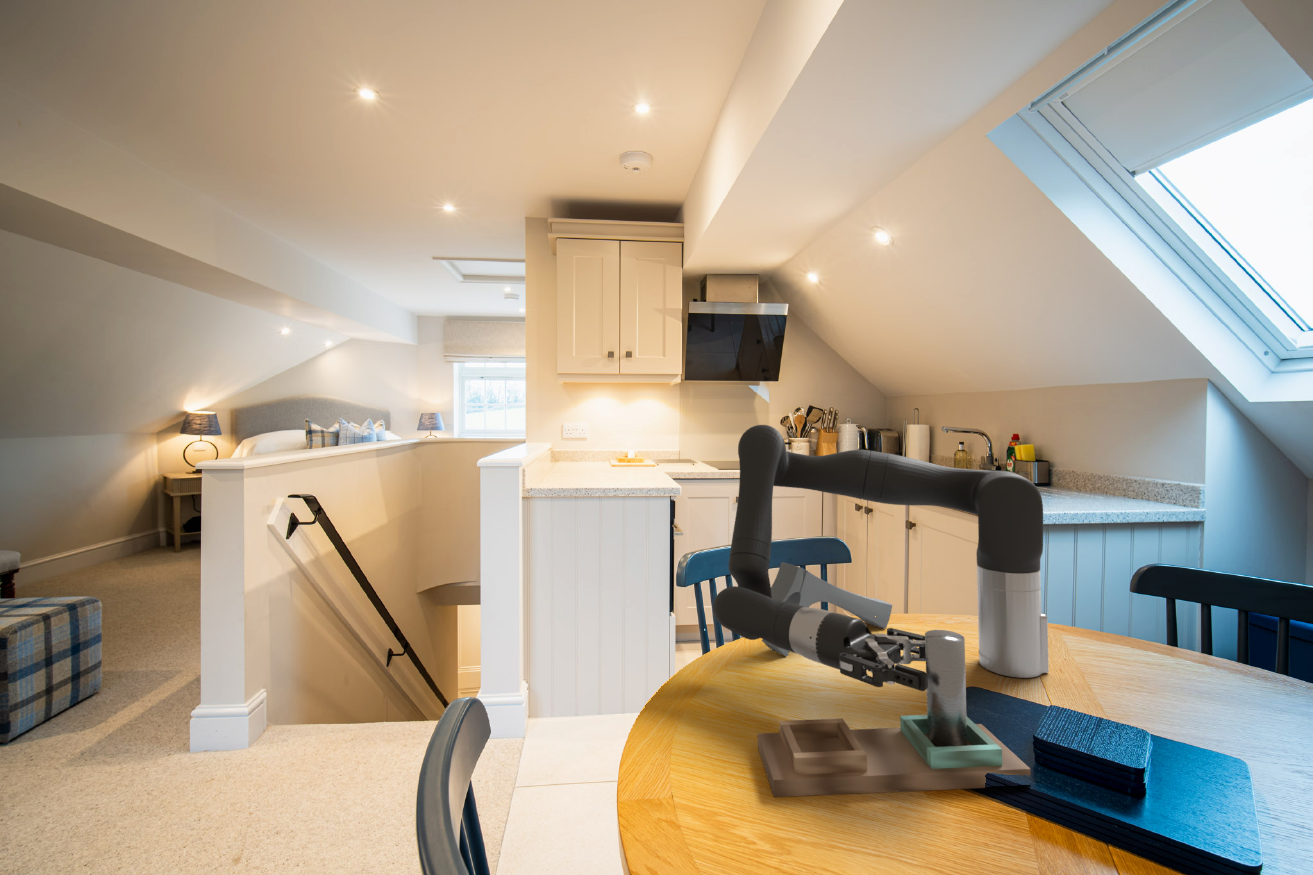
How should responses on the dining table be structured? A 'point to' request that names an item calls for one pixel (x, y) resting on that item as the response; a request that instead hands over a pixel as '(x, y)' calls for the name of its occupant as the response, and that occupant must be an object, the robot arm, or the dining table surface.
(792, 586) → the grey bent piece
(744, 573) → the robot arm
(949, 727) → the peg
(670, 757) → the dining table surface
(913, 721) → the brown insertion board
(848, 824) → the dining table surface
